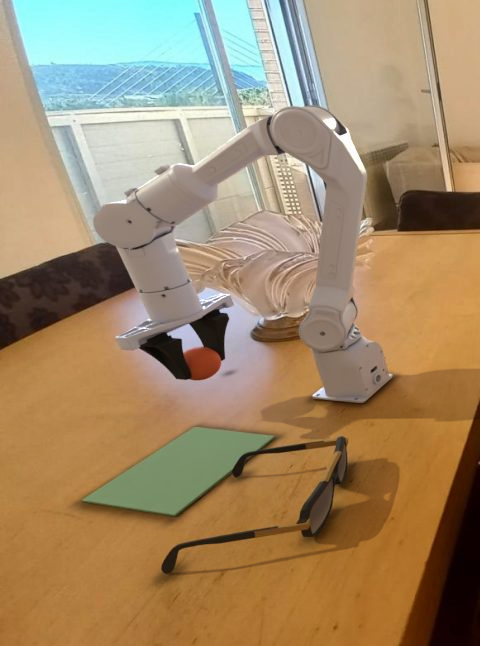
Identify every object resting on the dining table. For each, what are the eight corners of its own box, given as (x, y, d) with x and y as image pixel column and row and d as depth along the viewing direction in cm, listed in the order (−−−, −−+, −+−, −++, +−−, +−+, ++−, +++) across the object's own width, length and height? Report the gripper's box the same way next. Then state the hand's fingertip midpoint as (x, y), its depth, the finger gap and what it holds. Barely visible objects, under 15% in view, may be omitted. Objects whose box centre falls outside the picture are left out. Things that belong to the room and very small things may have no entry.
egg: (234, 370, 74) (222, 342, 72) (203, 388, 69) (189, 358, 67) (208, 367, 75) (196, 340, 73) (175, 385, 70) (161, 356, 68)
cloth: (275, 437, 68) (274, 435, 68) (175, 516, 55) (174, 514, 55) (195, 428, 71) (194, 426, 70) (82, 501, 58) (81, 500, 58)
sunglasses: (235, 476, 61) (221, 446, 59) (362, 456, 64) (352, 427, 62) (164, 575, 48) (143, 540, 46) (325, 545, 51) (312, 511, 49)
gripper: (193, 266, 73) (224, 343, 79) (79, 305, 60) (127, 393, 66) (231, 268, 72) (260, 346, 78) (123, 307, 59) (168, 398, 64)
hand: (201, 368), depth 72 cm, fingers closed on egg, 5 cm apart
